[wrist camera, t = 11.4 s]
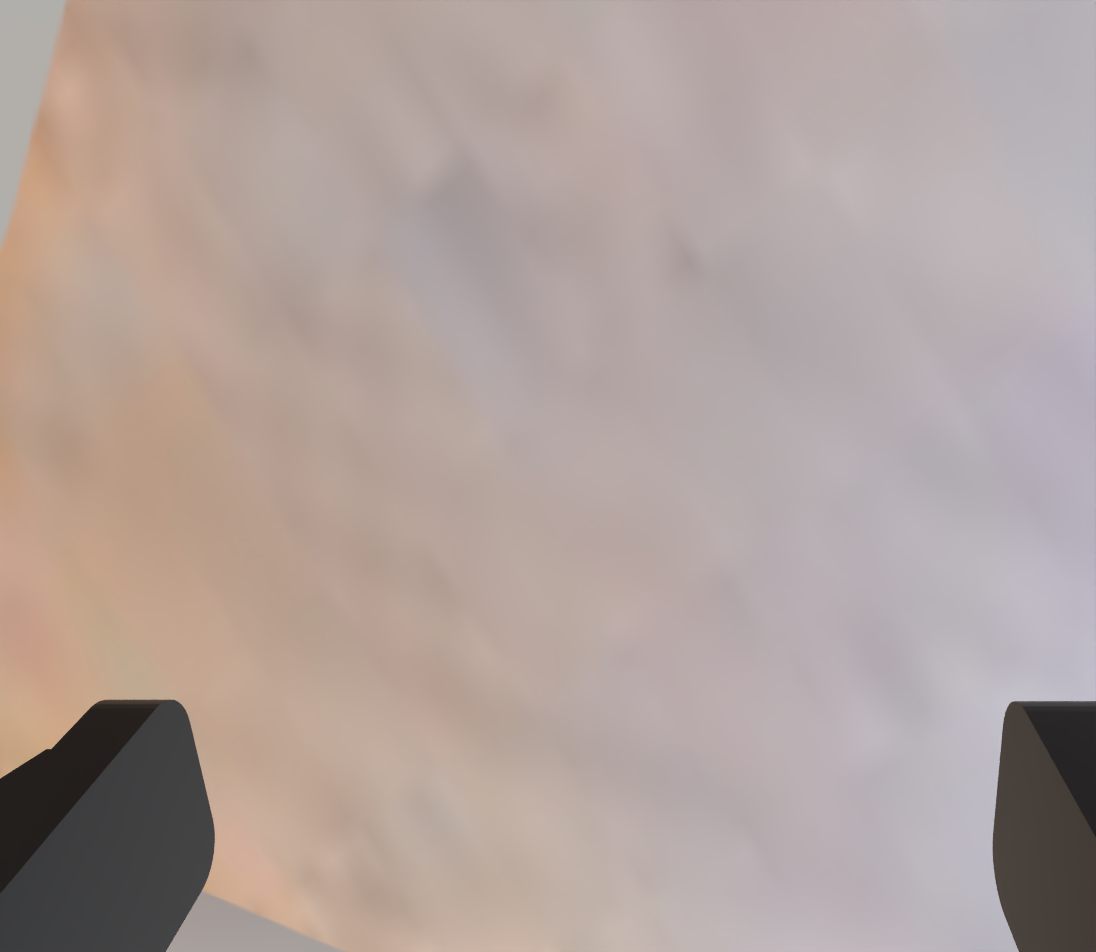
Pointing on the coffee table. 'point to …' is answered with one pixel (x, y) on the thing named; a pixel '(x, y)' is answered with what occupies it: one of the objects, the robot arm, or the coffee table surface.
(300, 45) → the coffee table surface
